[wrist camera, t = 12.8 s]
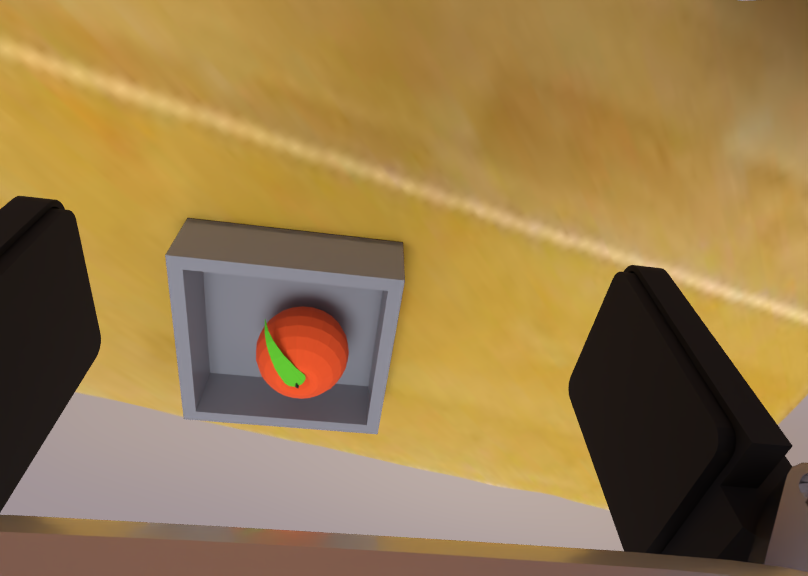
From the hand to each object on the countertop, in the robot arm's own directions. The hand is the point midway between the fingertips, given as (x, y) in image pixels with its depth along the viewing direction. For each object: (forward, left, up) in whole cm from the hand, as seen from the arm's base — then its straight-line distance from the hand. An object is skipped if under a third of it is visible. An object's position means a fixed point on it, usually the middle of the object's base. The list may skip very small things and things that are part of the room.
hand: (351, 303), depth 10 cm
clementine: (+3, +23, -28) cm, 36 cm away
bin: (+4, +23, -28) cm, 37 cm away
